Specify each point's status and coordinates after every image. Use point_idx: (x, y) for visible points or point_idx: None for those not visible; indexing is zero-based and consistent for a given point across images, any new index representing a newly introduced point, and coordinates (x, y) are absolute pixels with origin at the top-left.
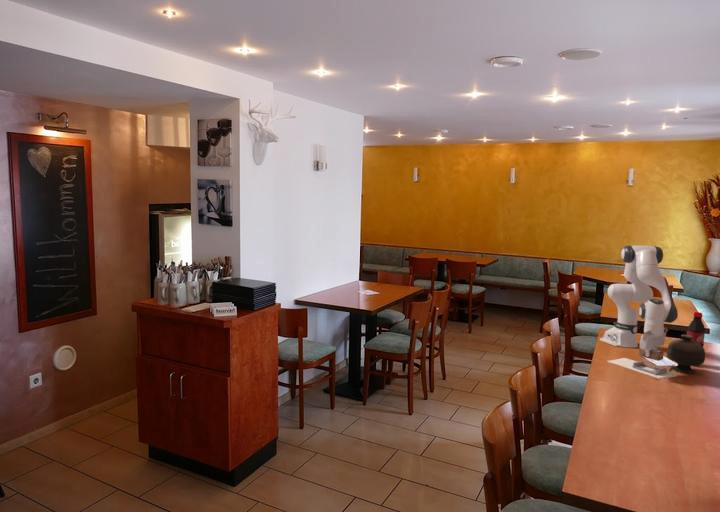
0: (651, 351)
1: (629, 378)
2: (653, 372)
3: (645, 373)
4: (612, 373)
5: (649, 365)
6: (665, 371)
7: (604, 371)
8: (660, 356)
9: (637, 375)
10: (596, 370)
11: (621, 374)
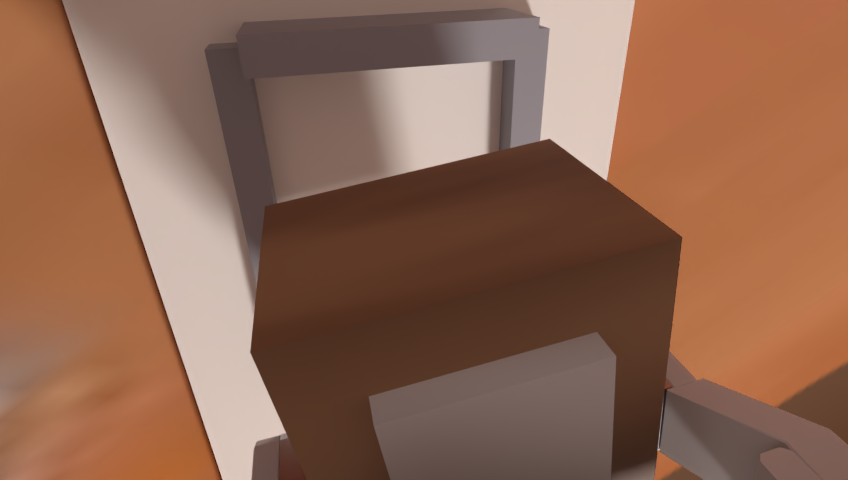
0: (648, 436)
1: (842, 117)
2: (542, 77)
3: (594, 140)
4: (800, 286)
5: (190, 381)
6: (285, 25)
7: (795, 342)
8: (466, 212)
9: (653, 169)
10: (818, 373)
11: (764, 243)
